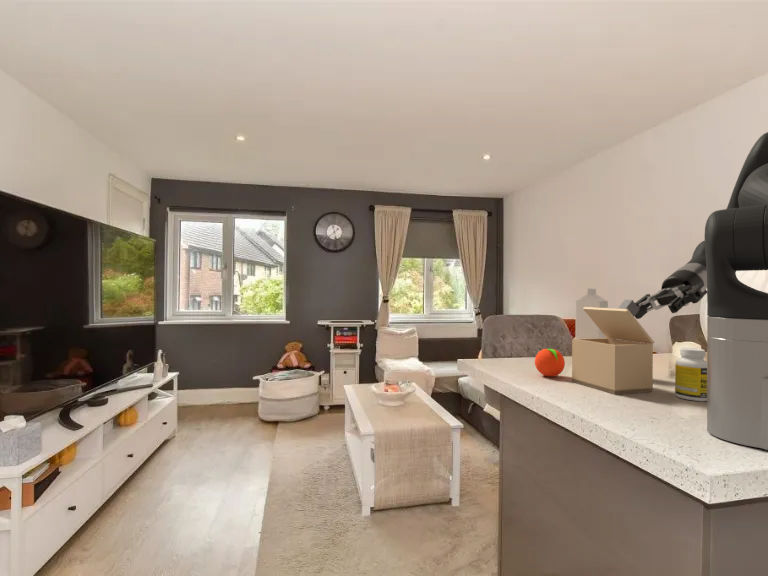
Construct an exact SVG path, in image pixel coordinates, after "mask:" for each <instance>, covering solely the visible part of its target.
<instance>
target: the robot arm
mask: <svg viewBox="0 0 768 576" xmlns="http://www.w3.org/2000/svg"><path fill="white" fill-rule="evenodd" d="M729 198H730V199H729V202H728V204H727V207H726V208H724V209H719V210H718V209H717V210H714V211H713V212H711V213H710V215H709V216H708V217H707V220H706V222H705V226H704V240H703V241H701V242H699V243H698V245H696V247H695V248H694V251H693V253H692V256H691V259H690V260H689V261H688V262H687V263H686V264H684V265H683V266H681V267H679V268H678V269H676V270H674V272H673V273H671V274H670V275H669V276H668V277H666V278H665V279H664V280H663V282H662V283H661V289H660V290H658V291H657V292H656V293H654V294H652V295H651V294H650V293H648V294H647V293H646V294H645V295H643V297H640V298H639V300H637V301H636V302H634V303H635V304H636V305H637V306H638V308H639V309H640V310H639V311H638V312H637V314H636V315H635V316H634V317H635V319H636V320H638V319H641V318H643V317H644V316H645V315H646V314H648V312H651V311H653V310H655V311H658V310H660V309H662V308H664V307H666V306H667V307H668V309H669V311H670V312H671V313H672V314H677V312H679V311H680V310H681V309H682V308H683V307H687V306H688V305H689V304H690V303H692V304H697V303H699V302H700V301H701V300H702V299H703V298H704V297H705V296H706V301H707V302H706V303H707V313H706V315H707V319H706V320H707V327H706V329H707V331H706V332H707V335H706V339H707V340H706V343H707V344H706V351H707V352H706V362H707V401H706V431H707V433H709V434H710V435H711V436H714V437H716V438H719V439H721V440H725V441H728V442H731V443H734V444H739V445H742V446H748V447H754V448H759V449H763V450H765V451H768V292H766V291H762V290H758V289H755V287H754V288H753V287H751V286H749V285H748V284H745V283H744V282H742V281H740V280H739V279H738V277H737V273H736V272H741V271H744V272H745V271H746V272H747V271H749V272H750V271H768V132H767V131H766V132H765V133H762V135H761V136H760V137H758V139H757V140H756V142H755V143H754V144H753V146H752V147H751V149H750V151H749V153H748V155H747V157H746V158H745V161H744V162H743V165H742V167H741V169H740V172H739V174H738V177H737V179H736V182H735V184H734V187H733V190H732V192H731V195H730V197H729ZM655 301H656V302H657V303H658V305H657V304H656V303H655Z"/></svg>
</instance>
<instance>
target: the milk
mask: <svg viewBox="0 0 768 576" xmlns="http://www.w3.org/2000/svg"><path fill="white" fill-rule="evenodd" d="M586 293H587V294H585V295H583V296H581V297H580V298H578V299H576V300H575V337H574V339H586V338H607V337H606V336H605V335H604V334H603V332H602V331H601V330H600V329H599V328H598V326H597V325H596V324H595V323H594V322H593V321H592V319H591V318H590V317H589V316H588V315H587V313H586V312H585V311H584V310H583V308H584V307H595V308H609V304H608V303H609V302H608V300H607V299H605V298H604V297H602V296H600V295H598V294H597V289H596V288H587V291H586Z"/></svg>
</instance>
